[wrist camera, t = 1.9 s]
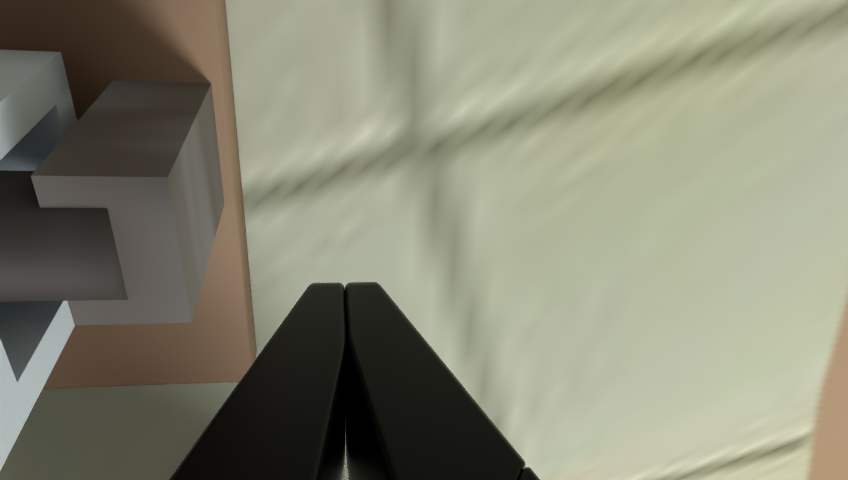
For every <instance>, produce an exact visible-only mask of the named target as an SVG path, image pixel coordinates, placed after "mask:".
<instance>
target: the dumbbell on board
mask: <svg viewBox="0 0 848 480" xmlns="http://www.w3.org/2000/svg"><path fill="white" fill-rule="evenodd" d="M0 50H23V51H49V52H61V55H62V59H63V63H64V67H65V72H66V76H67V80H68V84H69V89H70V93H71V97H72V101H73V106H74V110H75V114H76V118H77V123H76V124H75V125H74V126H73V127H72V128H71V130H70V131H69V132H68V133H67V134H66V135H65V137H64V138H63V139H62V140H61V141H60V142H59V143H58V145H57V146H56V147H55V148H54V149H53V150H52V152H51V153H50V154H49V155H48V156H47V157H46V159H45V160H44V161H43V162H42V163H41V164H40V165H39V167H38V168H37V169H36V170H35V171H7V170H0V302H19V301H68V305H69V308H70V311H71V315H72V318H73V322H74V325H75V326H74V328H73V330H72V332H71V334H70V336H69V338H68V340H67V342H66V344H65V346H64V348H63V350H62V352H61V354H60V356H59V358H58V360H57V361H56V363H55V365H54V367H53V369H52V371H51V373H50V375H49V377H48V379H47V381H46V383H45V385H44V387H43V389H46V388H74V387H103V386H131V385H160V384H188V383H217V382H240V381H241V379H242V378H243V377H244V375H245V374H246V372H247V371H248V370H249V368H250V367H251V365H252V364H253V363H254V361H255V359H256V352H257V351H256V340H255V329H254V318H253V307H252V295H251V284H250V273H249V262H248V251H247V240H246V229H245V217H244V206H243V195H242V184H241V173H240V162H239V151H238V139H237V128H236V117H235V106H234V95H233V84H232V72H231V61H230V50H229V39H228V28H227V17H226V6H225V0H0Z"/></svg>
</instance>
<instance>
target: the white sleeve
mask: <svg viewBox="0 0 848 480" xmlns="http://www.w3.org/2000/svg"><path fill="white" fill-rule="evenodd" d="M76 123H77V118H76V114H75V110H74V106H73V101H72V97H71V93H70V89H69V84H68V80H67V76H66V72H65V67H64V63H63V59H62V55H61V52H49V51H23V50H0V170H7V171H35V170H36V169H37V168H38V167H39V165H40V164H41V163H42V162H43V161H44V160H45V159H46V157H47V156H48V155H49V154H50V153H51V152H52V150H53V149H54V148H55V147H56V146H57V145H58V143H59V142H60V141H61V140H62V139H63V138H64V137H65V135H66V134H67V133H68V132H69V131H70V130H71V128H72V127H73V126H74V125H75V124H76ZM74 326H75V325H74V322H73V318H72V315H71V311H70V308H69V305H68V301H19V302H0V471H1V469H2V467H3V465H4V463H5V461H6V459H7V457H8V455H9V453H10V451H11V449H12V447H13V445H14V443H15V441H16V439H17V437H18V435H19V434H20V432H21V430H22V428H23V426H24V424H25V422H26V420H27V418H28V416H29V414H30V412H31V410H32V408H33V406H34V404H35V402H36V400H37V398H38V397H39V395H40V393H41V391H42V389H43V387H44V385H45V383H46V381H47V379H48V377H49V375H50V373H51V371H52V369H53V367H54V365H55V363H56V361H57V360H58V358H59V356H60V354H61V352H62V350H63V348H64V346H65V344H66V342H67V340H68V338H69V336H70V334H71V332H72V330H73V328H74Z"/></svg>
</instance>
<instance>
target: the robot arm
mask: <svg viewBox="0 0 848 480" xmlns="http://www.w3.org/2000/svg"><path fill="white" fill-rule="evenodd" d="M345 431H346V457H347V467H348V476H349V480H540V479H539V478H538V477H537V476H536V474H535V473H534V472H533V471H532V469H531V468H529V467H526V468H525V462H524V460H523V459H522V458H521V456H520V455H519V454H518V453H517V452H516V450H515V449H514V448H513V447H512V445H511V444H510V443H509V442H508V441H507V439H506V438H505V437H504V436H503V434H502V433H501V432H500V431H499V430H498V428H497V427H496V426H495V425H494V423H493V422H492V421H491V420H490V419H489V417H488V416H487V415H486V414H485V413H484V411H483V410H482V409H481V408H480V406H479V405H478V404H477V403H476V402H475V400H474V399H473V398H472V397H471V395H470V394H469V393H468V392H467V391H466V389H465V388H464V387H463V386H462V384H461V383H460V382H459V381H458V380H457V378H456V377H455V376H454V375H453V373H452V372H451V371H450V370H449V369H448V367H447V366H446V365H445V364H444V362H443V361H442V360H441V359H440V358H439V356H438V355H437V354H436V353H435V352H434V350H433V349H432V348H431V347H430V345H429V344H428V343H427V342H426V341H425V339H424V338H423V337H422V336H421V334H420V333H419V332H418V331H417V330H416V328H415V327H414V326H413V325H412V323H411V322H410V321H409V320H408V319H407V317H406V316H405V315H404V314H403V312H402V311H401V310H400V309H399V308H398V306H397V305H396V304H395V303H394V301H393V300H392V299H391V298H390V297H389V295H388V294H387V293H386V292H385V290H384V289H383V288H382V287H381V286H380V285H379V284H378V283H376V282H353V283H348V284H347V285H346V286H345V290H344V286H343V284H341V283H312V284H311V285H309V287H308V288H307V289H306V291H305V292H304V293H303V295H302V296H301V297H300V299H299V300H298V302H297V303H296V304H295V306H294V307H293V309H292V310H291V311H290V313H289V314H288V315H287V317H286V318H285V320H284V321H283V322H282V324H281V325H280V327H279V328H278V329H277V331H276V332H275V334H274V335H273V336H272V338H271V339H270V340H269V342H268V343H267V345H266V346H265V347H264V349H263V350H262V352H261V353H260V354H259V356H258V357H257V358H256V360H255V361H254V363H253V364H252V365H251V367H250V368H249V370H248V371H247V372H246V374H245V375H244V377H243V378H242V379H241V381H240V382H239V383H238V385H237V386H236V388H235V389H234V390H233V392H232V393H231V395H230V396H229V397H228V399H227V400H226V401H225V403H224V404H223V406H222V407H221V408H220V410H219V411H218V413H217V414H216V415H215V417H214V418H213V419H212V421H211V422H210V424H209V425H208V426H207V428H206V429H205V431H204V432H203V433H202V435H201V436H200V438H199V439H198V440H197V442H196V443H195V444H194V446H193V447H192V449H191V450H190V451H189V453H188V454H187V456H186V457H185V458H184V460H183V461H182V462H181V464H180V465H179V467H178V468H177V469H176V471H175V472H174V474H173V475H172V476H171V478H170V479H169V480H343V477H344V464H345Z"/></svg>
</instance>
